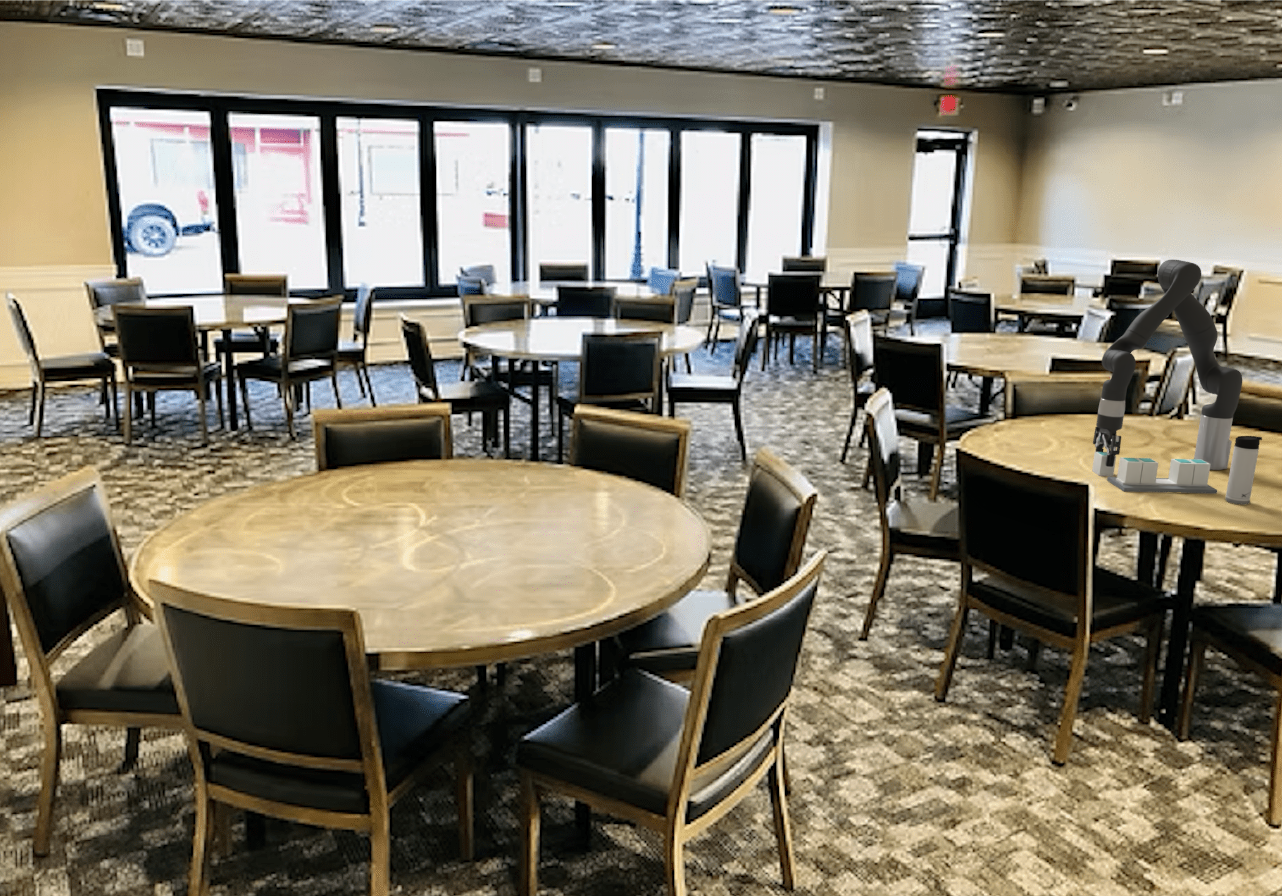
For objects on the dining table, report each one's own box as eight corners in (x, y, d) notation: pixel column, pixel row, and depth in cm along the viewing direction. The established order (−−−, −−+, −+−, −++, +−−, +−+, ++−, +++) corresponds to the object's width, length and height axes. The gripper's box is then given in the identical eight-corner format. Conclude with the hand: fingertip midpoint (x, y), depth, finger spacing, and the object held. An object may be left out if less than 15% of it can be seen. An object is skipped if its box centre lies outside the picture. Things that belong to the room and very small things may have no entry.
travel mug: (1248, 506, 305) (1260, 439, 300) (1223, 502, 309) (1234, 435, 304) (1252, 501, 310) (1263, 435, 305) (1227, 497, 314) (1238, 432, 309)
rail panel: (1196, 482, 329) (1200, 456, 327) (1216, 493, 317) (1221, 466, 315) (1106, 480, 329) (1110, 453, 327) (1123, 491, 317) (1127, 464, 315)
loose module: (1106, 471, 339) (1108, 451, 338) (1113, 476, 334) (1116, 455, 332) (1092, 471, 339) (1094, 451, 338) (1099, 475, 334) (1101, 455, 332)
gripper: (1133, 418, 325) (1125, 469, 329) (1113, 408, 339) (1105, 457, 343) (1108, 417, 325) (1101, 468, 329) (1089, 408, 339) (1082, 456, 342)
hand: (1103, 462), depth 336 cm, fingers open, 8 cm apart
